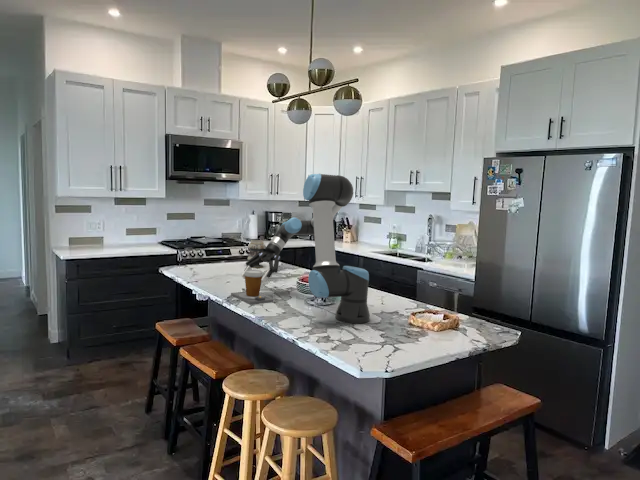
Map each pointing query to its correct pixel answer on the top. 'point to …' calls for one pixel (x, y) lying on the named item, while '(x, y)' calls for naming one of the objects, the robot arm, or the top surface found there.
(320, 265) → the robot arm
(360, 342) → the top surface
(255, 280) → the disposable coffee cup
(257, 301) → the mug warmer
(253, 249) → the grey stone vase
